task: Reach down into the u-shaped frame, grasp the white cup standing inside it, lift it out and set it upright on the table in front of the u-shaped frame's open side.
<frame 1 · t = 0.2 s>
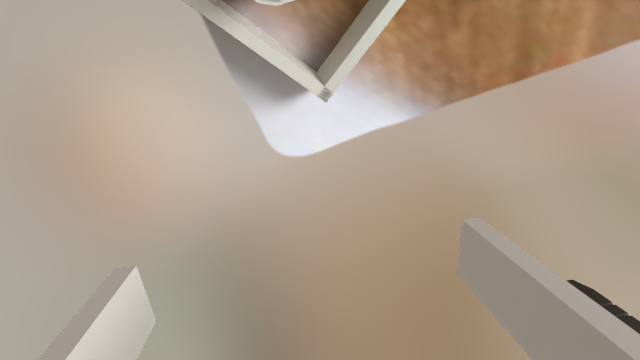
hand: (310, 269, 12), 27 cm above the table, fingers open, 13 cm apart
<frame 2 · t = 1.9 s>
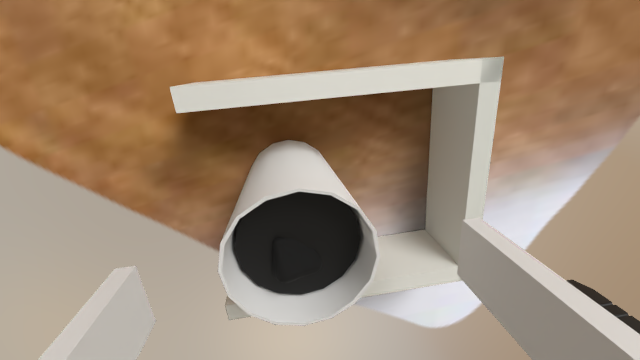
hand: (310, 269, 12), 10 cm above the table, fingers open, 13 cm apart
white cup: (290, 178, 22), on the table
u-shaped frame: (336, 173, 22), on the table
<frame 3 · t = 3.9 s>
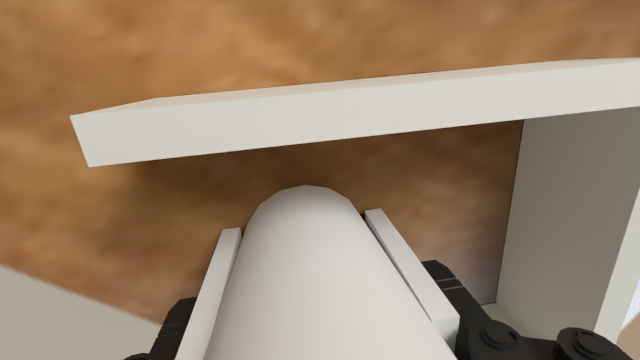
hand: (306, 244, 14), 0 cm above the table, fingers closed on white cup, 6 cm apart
white cup: (305, 238, 14), on the table, touching gripper
u-shaped frame: (373, 230, 14), on the table
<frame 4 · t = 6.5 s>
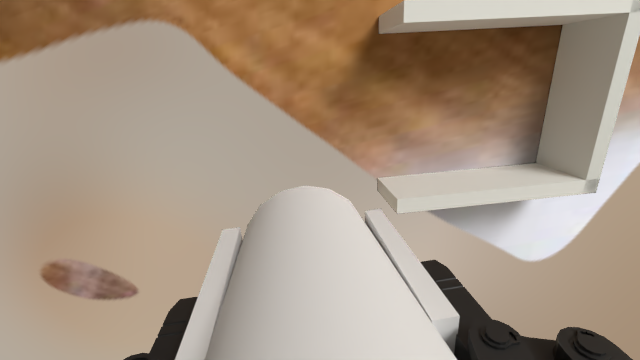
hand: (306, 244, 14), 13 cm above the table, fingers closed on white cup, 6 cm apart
white cup: (306, 239, 14), point 12 cm above the table, touching gripper
u-shaped frame: (472, 104, 26), on the table
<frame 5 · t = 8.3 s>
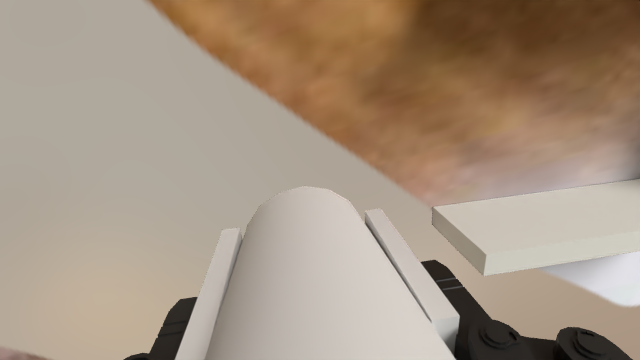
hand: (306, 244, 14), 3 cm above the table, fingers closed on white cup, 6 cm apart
white cup: (305, 240, 14), point 3 cm above the table, touching gripper
u-shaped frame: (580, 93, 17), on the table
when the fingers open (2 cm above the table, at t = 9.4 s): white cup drops 1 cm, on the table.
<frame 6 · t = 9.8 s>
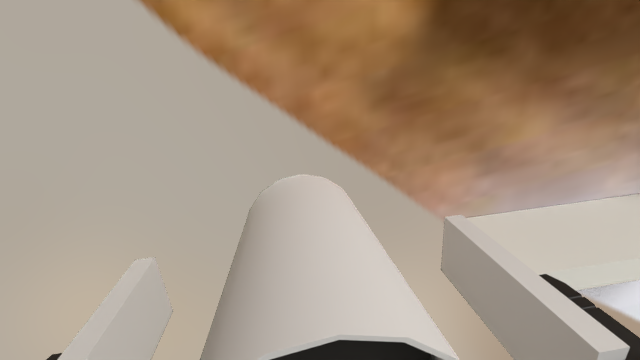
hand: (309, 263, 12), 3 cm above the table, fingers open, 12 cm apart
white cup: (302, 224, 16), on the table
u-shaped frame: (608, 97, 15), on the table
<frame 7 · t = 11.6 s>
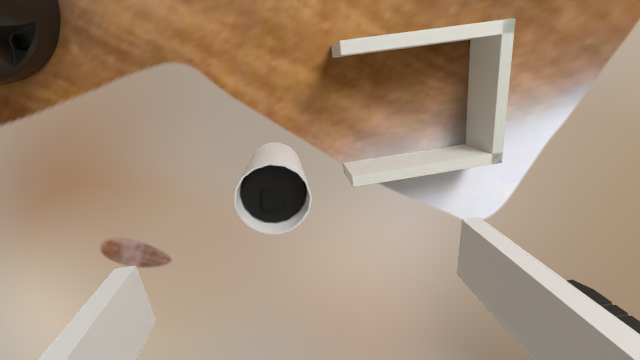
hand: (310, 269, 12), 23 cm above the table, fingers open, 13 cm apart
white cup: (275, 166, 35), on the table
u-shaped frame: (409, 103, 34), on the table
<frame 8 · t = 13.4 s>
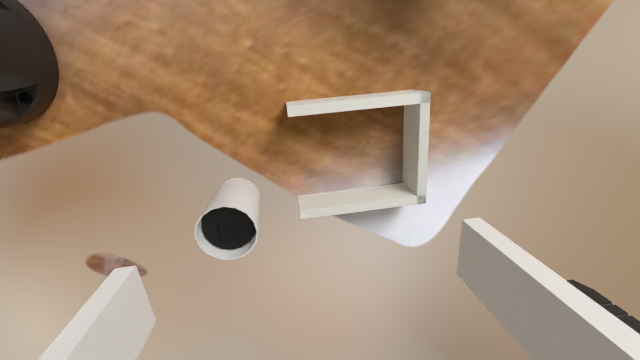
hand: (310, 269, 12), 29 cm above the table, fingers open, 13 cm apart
white cup: (239, 196, 41), on the table
u-shaped frame: (352, 149, 41), on the table
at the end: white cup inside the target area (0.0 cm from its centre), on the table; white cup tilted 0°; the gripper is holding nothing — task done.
